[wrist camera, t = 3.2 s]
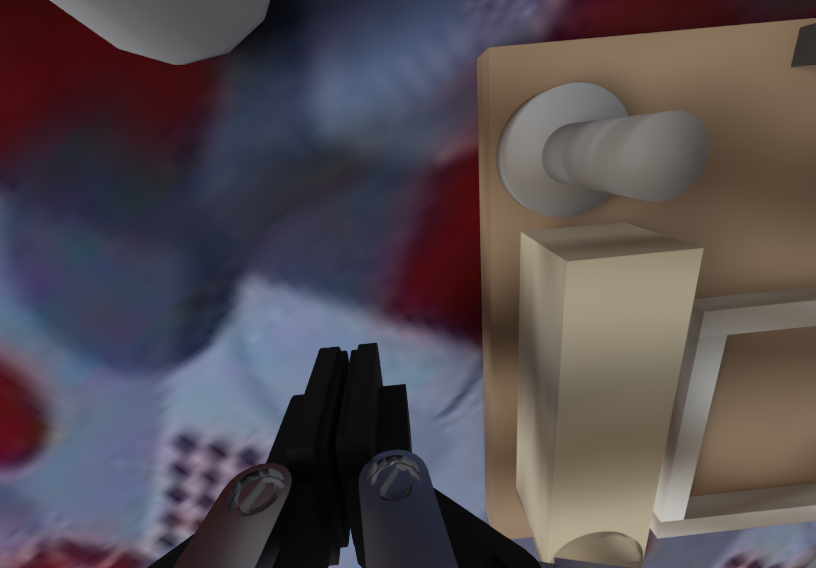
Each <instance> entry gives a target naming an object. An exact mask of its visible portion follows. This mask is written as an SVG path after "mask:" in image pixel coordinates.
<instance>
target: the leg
mask: <svg viewBox="0 0 816 568" xmlns="http://www.w3.org/2000/svg"><path fill="white" fill-rule="evenodd" d="M703 250H704V248H702V247H699V246H696V245H693V244H690V243H687V242H684V241H681V240H677V239H674V238H671V237H668V236H665V235H662V234H659V233H656V232H653V231H650V230H646V229H643V228H640V227H637V226H634V225H631V224H628V223H625V222H616V223H605V224H595V225H585V226H575V227H565V228H554V229H544V230H534V231H524V232H521V245H520V302H519V359H518V416H517V472H516V492H517V496H518V498H519V501H520V504H521V506H522V509H523V512H524V514H525V517H526V520H527V523H528V525H529V528H530V531H531V533H532V536H533V539H534V542H535V544H536V547H537V550H538V552H539V555H540V558H541V561H542V562H547V563H554V557H556V558H563V559H571V560H578V561H585V562H593V563H600V564H608V565H615V566H622V567H630V568H641V566H642V563H643V559H644V554H645V549H646V544H647V539H648V533H649V528H650V523H651V518H652V513H653V508H654V503H655V497H656V492H657V487H658V482H659V477H660V472H661V466H662V461H663V456H664V451H665V446H666V441H667V436H668V430H669V425H670V420H671V415H672V410H673V405H674V399H675V394H676V389H677V384H678V379H679V374H680V369H681V363H682V358H683V353H684V348H685V343H686V338H687V332H688V327H689V322H690V317H691V312H692V307H693V302H694V296H695V291H696V286H697V281H698V276H699V271H700V265H701V260H702V255H703Z"/></svg>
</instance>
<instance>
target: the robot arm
mask: <svg viewBox="0 0 816 568" xmlns="http://www.w3.org/2000/svg"><path fill="white" fill-rule="evenodd" d="M350 529H351V534H352V539H353V544H354V546H355V551H356V556H357V561H358V564H359V565H360V566H361V567H362V568H630V567H622V566H615V565H608V564H600V563H593V562H585V561H578V560H571V559H563V558H556V557H554V563H547V562H539V561H537V560H536V559H535V558H534V557H533V556H532V555H531V554H530V553H528V552H527V551H526V550H525V549H524V548H522V547H521V546H519V545H518V544H516V543H515V542H513V541H512V540H510V539H509V538H507V537H506V536H504V535H503V534H501V533H500V532H498V531H497V530H495V529H494V528H493V527H491V526H490V525H488V524H487V523H485V522H484V521H482V520H481V519H479V518H478V517H476V516H475V515H473V514H472V513H470V512H469V511H467V510H466V509H464V508H463V507H462V506H460V505H459V504H457V503H456V502H454V501H453V500H451V499H450V498H448V497H447V496H445V495H444V494H442V493H441V492H439V491H438V490H436V489H435V488H433V485H432V482H431V479H430V476H429V472H428V469H427V467H426V465H425V463H424V461H423V460H422V459H421V458H419V457H418V456H417V455H416V454H413V453H412V446H411V433H410V422H409V411H408V401H407V392H406V384H401V385H391V386H383V383H382V375H381V367H380V359H379V352H378V345H377V343H370V344H360V345H358V350H352V351H351V356H350V362H349V359H348V353H347V351H341V350H340V347H330V348H321V349H320V350H319V353H318V356H317V359H316V362H315V364H314V367H313V370H312V373H311V376H310V379H309V382H308V385H307V388H306V391H305V394H303V395H294V396H293V397H292V398H291V400H290V403H289V405H288V408H287V410H286V413H285V416H284V418H283V421H282V423H281V426H280V429H279V431H278V434H277V436H276V439H275V441H274V444H273V447H272V449H271V452H270V454H269V457H268V460H267V462H266V463H265V464H259V465H256V466H253V467H250V468H249V469H247V470H245V471H243V472H241V473H240V474H238V475H237V476H236V477H235V478H234V479H232V480H231V481H230V482H229V483H228V485H227V486H226V487H225V488H224V489H223V491H222V492H221V494H220V495H219V497H218V499H217V500H216V502H215V503H214V505H213V506H212V508H211V509H210V511H209V513H208V514H207V516H206V517H205V519H204V520H203V522H202V523H201V525H200V526H199V528H198V530H197V531H196V533H195V534H193V535H192V536H190V537H189V538H188V539H186V540H185V541H184V542H182V543H181V544H179V545H178V546H177V547H175V548H174V549H173V550H171V551H170V552H168V553H167V554H166V555H164V556H163V557H161V558H160V559H159V560H157V561H156V562H155V563H153V564H152V565H150V566H149V567H148V568H328V567H329V566H330V565H339V557H340V548H342V547H348V544H349V536H350Z"/></svg>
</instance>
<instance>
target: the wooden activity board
mask: <svg viewBox="0 0 816 568" xmlns="http://www.w3.org/2000/svg"><path fill="white" fill-rule="evenodd" d="M477 93H478V142H479V190H480V239H481V287H482V336H483V384H484V433H485V481H486V513H487V517H488V521H489V524H490V526H491V527H493V528H494V529H495V530H497V531H498V532H500V533H501V534H503V535H504V536H506V537H507V538H509V539H518V538H528V537H533V536H532V533H531V531H530V528H529V525H528V523H527V520H526V517H525V514H524V512H523V509H522V506H521V504H520V501H519V498H518V496H517V492H516V472H517V416H518V359H519V302H520V245H521V232H524V231H534V230H544V229H554V228H565V227H575V226H585V225H595V224H605V223H616V222H625V223H628V224H631V225H634V226H637V227H640V228H643V229H646V230H650V231H653V232H656V233H659V234H662V235H665V236H668V237H671V238H674V239H677V240H681V241H684V242H687V243H690V244H693V245H696V246H699V247H702V248H704V250H703V255H702V260H701V265H700V271H699V276H698V281H697V286H696V291H695V296H694V302H693V307H692V312H691V317H690V322H689V327H688V332H687V338H686V343H685V348H684V353H683V358H682V363H681V369H680V374H679V379H678V384H677V389H676V394H675V399H674V405H673V410H672V415H671V420H670V425H669V430H668V436H667V441H666V446H665V451H664V456H663V461H662V466H661V472H660V477H659V482H658V487H657V492H656V497H655V503H654V508H653V513H652V518H651V523H650V528H651V530H652V531H653V533H654V534H655V536H656V537H657V538H666V537H675V536H684V535H693V534H702V533H711V532H720V531H729V530H738V529H747V528H756V527H765V526H774V525H783V524H792V523H801V522H810V521H816V18H811V19H800V20H789V21H778V22H766V23H755V24H744V25H733V26H722V27H711V28H700V29H689V30H678V31H667V32H656V33H644V34H633V35H622V36H611V37H600V38H589V39H578V40H567V41H556V42H545V43H534V44H522V45H511V46H500V47H489V48H488V49H487V50H486V51H485V52H484V53H483V54H482V55H481V56H480V57H479V58H478V59H477Z"/></svg>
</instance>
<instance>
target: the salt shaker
mask: <svg viewBox="0 0 816 568" xmlns="http://www.w3.org/2000/svg"><path fill="white" fill-rule="evenodd" d="M50 1H51V2H53V3H54V4H56V5H57V6H58V7H60V8H61V9H63V10H64V11H66V12H67V13H68V14H70V15H71V16H73V17H74V18H76V19H77V20H78V21H80V22H81V23H83V24H84V25H85V26H87V27H88V28H90V29H91V30H93V31H94V32H95V33H97V34H98V35H100V36H101V37H103V38H104V39H105V40H107V41H108V42H110V43H111V44H112V45H114V46H115V47H117V48H118V49H121V50H125V51H128V52H132V53H135V54H139V55H142V56H146V57H149V58H153V59H156V60H160V61H163V62H167V63H170V64H174V65H185V64H189V63H192V62H196V61H200V60H204V59H207V58H211V57H215V56H218V55H222V54H226V53H229V52H230V51H231V50H232V49H234V48H235V47H236V46H237V45H238V44H239V43H240V42H241V41H242V40H243V39H244V38H245V37H246V36H248V35H249V34H250V33H251V32H252V31H253V30H254V29H255V28H256V27H257V26H258V25H259V24H260V23H261V22H263V21H264V20H265V16H266V13H267V9H268V6H269V3H270V0H50Z"/></svg>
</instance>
